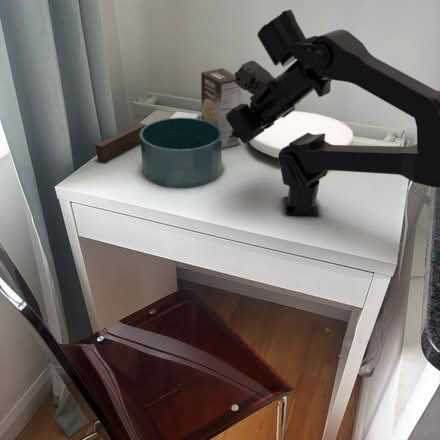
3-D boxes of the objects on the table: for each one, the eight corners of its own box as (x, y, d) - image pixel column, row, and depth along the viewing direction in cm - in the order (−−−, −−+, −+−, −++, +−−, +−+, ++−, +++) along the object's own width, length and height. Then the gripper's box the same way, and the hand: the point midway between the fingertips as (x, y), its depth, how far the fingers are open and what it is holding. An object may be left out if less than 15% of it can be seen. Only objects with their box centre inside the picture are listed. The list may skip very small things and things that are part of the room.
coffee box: (200, 136, 119) (199, 71, 108) (220, 132, 122) (222, 67, 111) (219, 149, 113) (220, 82, 103) (240, 144, 116) (243, 77, 105)
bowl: (219, 189, 98) (220, 151, 93) (137, 186, 99) (132, 148, 93) (222, 153, 112) (223, 118, 106) (150, 150, 112) (147, 116, 107)
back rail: (147, 139, 117) (146, 124, 114) (104, 162, 107) (101, 146, 104) (141, 138, 118) (139, 122, 115) (97, 160, 108) (95, 144, 105)
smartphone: (200, 114, 129) (179, 133, 118) (200, 116, 130) (180, 135, 119) (176, 110, 131) (154, 129, 120) (176, 113, 131) (154, 131, 121)
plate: (245, 106, 123) (343, 109, 123) (244, 130, 127) (339, 133, 127) (249, 137, 100) (369, 140, 100) (247, 165, 104) (363, 169, 104)
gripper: (287, 37, 85) (235, 88, 97) (237, 60, 73) (184, 115, 85) (320, 89, 87) (265, 133, 99) (276, 119, 75) (219, 165, 87)
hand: (235, 135), depth 92 cm, fingers closed
